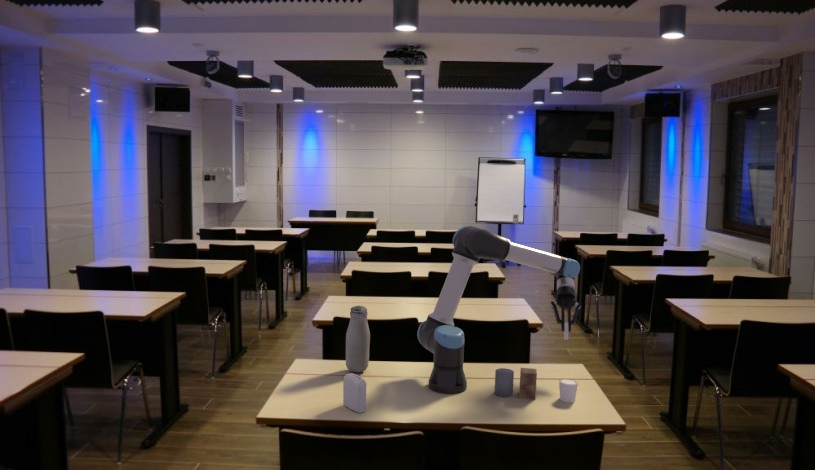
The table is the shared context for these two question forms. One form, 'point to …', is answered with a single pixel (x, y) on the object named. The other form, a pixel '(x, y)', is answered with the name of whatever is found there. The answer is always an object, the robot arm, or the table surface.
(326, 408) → the table surface
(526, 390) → the walnut block
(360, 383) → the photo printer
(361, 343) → the grey bottle
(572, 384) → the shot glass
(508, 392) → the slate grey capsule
